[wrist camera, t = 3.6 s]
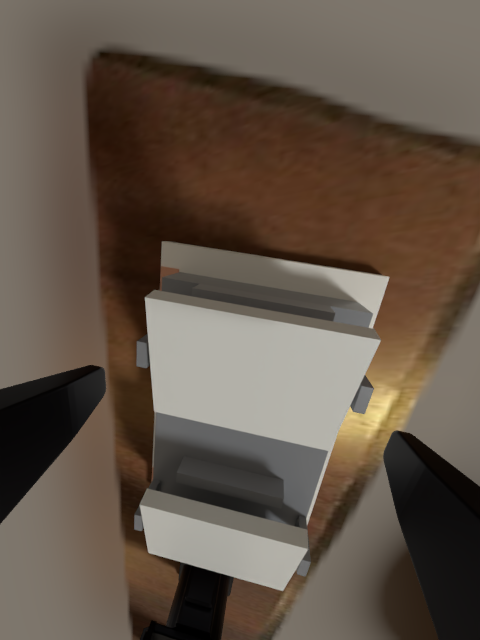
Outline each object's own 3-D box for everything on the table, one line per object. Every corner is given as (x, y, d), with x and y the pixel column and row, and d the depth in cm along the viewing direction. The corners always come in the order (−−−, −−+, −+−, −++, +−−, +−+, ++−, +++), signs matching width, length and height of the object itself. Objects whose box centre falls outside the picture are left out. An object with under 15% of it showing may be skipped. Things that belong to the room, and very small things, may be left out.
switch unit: (302, 523, 26) (310, 623, 19) (156, 486, 28) (116, 566, 21) (382, 274, 18) (446, 295, 11) (168, 241, 19) (109, 240, 13)
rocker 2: (283, 563, 21) (282, 591, 19) (157, 529, 22) (148, 552, 20) (306, 519, 17) (308, 549, 15) (151, 479, 18) (139, 504, 16)
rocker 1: (325, 428, 16) (328, 451, 15) (164, 393, 17) (154, 411, 16) (370, 322, 12) (381, 340, 11) (159, 285, 13) (144, 297, 12)
